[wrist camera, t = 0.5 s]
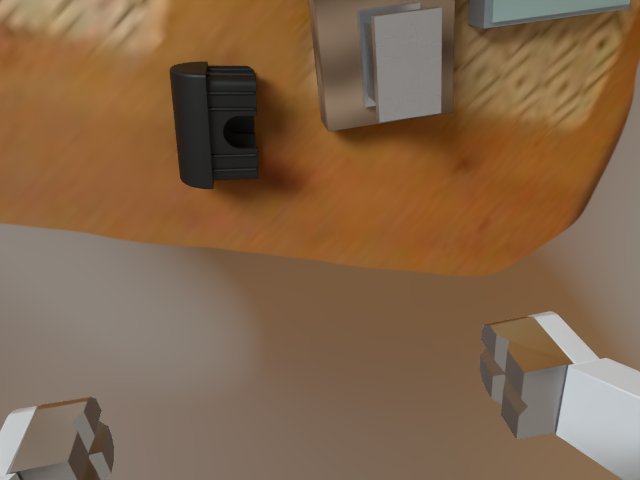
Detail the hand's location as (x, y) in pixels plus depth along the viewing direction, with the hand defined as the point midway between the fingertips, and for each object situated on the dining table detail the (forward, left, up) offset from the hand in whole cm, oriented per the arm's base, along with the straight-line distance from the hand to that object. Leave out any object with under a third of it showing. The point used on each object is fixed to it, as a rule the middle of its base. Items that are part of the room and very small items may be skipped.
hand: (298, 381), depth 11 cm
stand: (+1, +13, -42) cm, 44 cm away
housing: (+1, +13, -38) cm, 41 cm away
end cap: (+5, -3, -43) cm, 43 cm away
